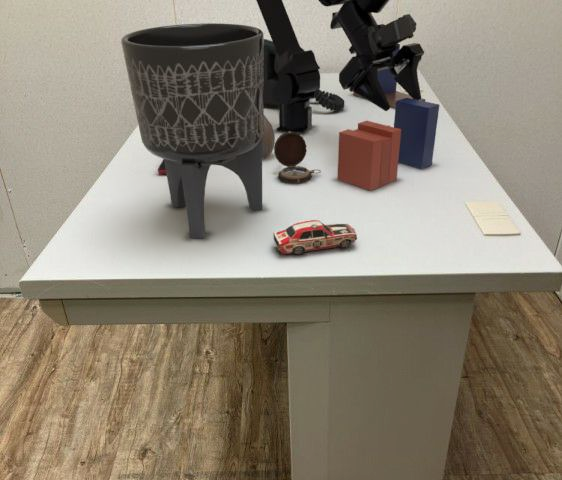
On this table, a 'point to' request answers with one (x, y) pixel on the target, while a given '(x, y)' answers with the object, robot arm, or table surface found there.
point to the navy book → (416, 131)
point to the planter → (200, 106)
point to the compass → (292, 157)
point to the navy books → (388, 78)
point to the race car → (313, 237)
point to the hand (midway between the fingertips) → (404, 104)
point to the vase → (267, 138)
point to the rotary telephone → (272, 80)
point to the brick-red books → (369, 155)
